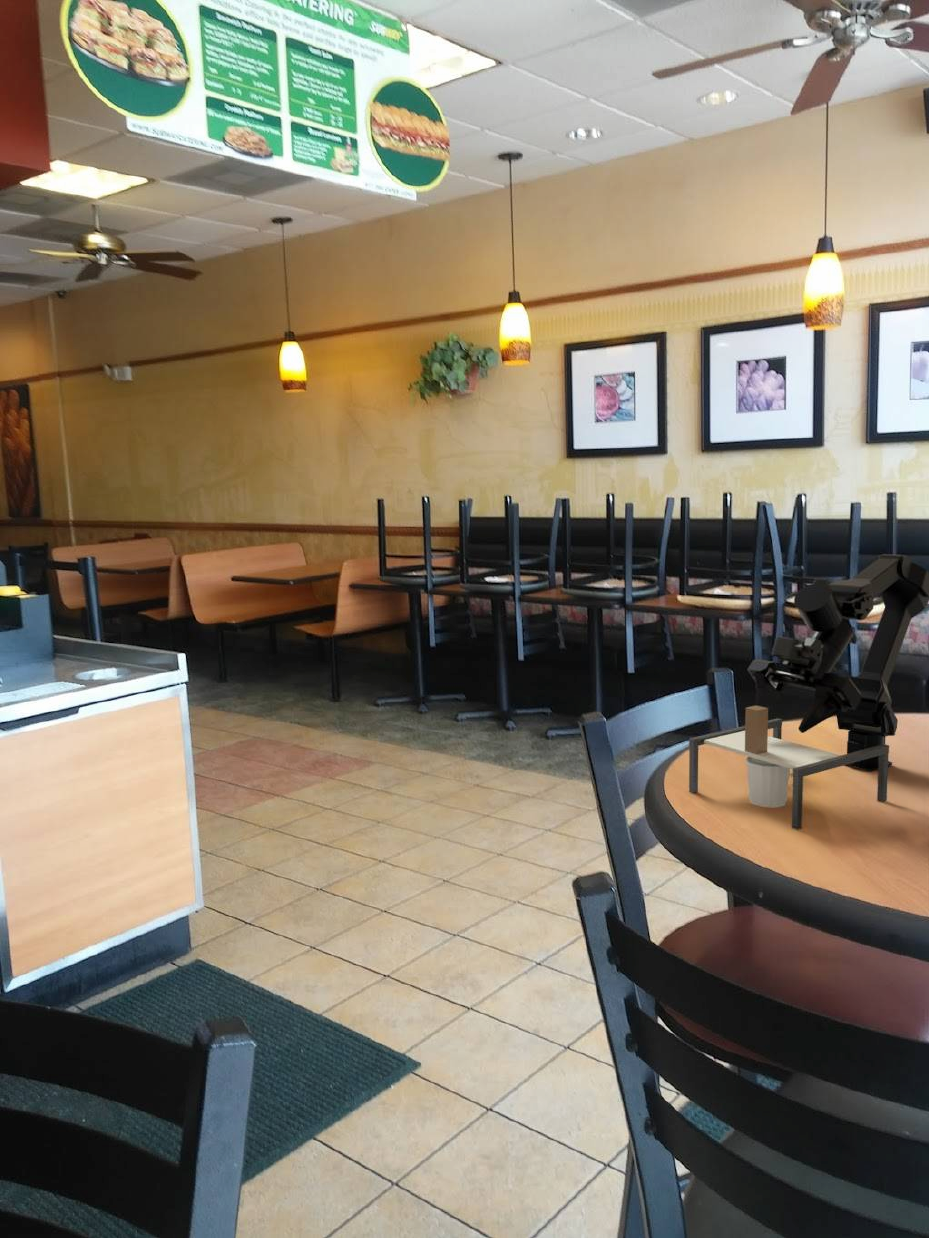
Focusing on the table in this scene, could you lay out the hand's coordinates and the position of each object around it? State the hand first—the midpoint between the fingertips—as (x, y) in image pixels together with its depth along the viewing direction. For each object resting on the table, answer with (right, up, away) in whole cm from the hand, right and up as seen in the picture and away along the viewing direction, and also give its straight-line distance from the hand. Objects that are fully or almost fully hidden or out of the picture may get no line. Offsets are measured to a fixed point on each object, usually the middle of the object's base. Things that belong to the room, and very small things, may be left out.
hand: (776, 725), depth 160 cm
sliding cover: (-1, -4, 0) cm, 4 cm away
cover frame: (+2, -12, +3) cm, 12 cm away
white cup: (-1, -13, +1) cm, 13 cm away
